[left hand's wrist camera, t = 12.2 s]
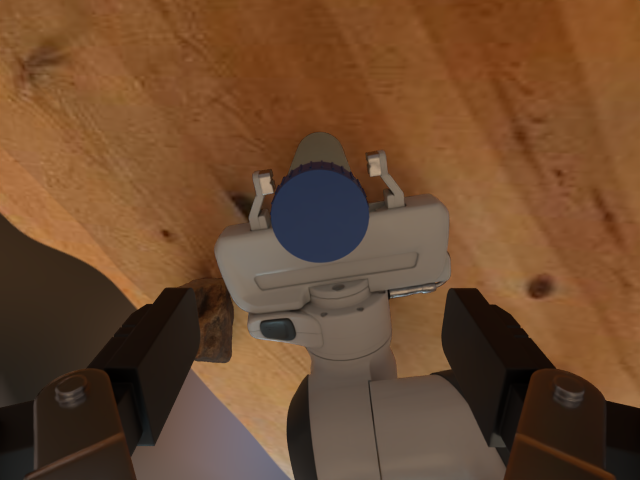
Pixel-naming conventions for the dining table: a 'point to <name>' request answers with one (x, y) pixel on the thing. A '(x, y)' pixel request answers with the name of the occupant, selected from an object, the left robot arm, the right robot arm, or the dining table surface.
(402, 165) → the dining table surface
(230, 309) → the decorative rock
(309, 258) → the lid
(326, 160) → the green bottle
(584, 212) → the dining table surface
